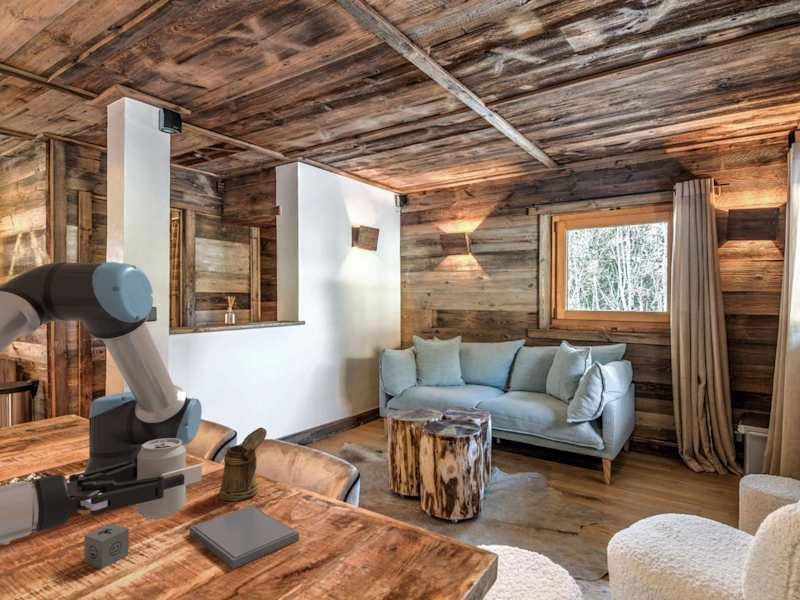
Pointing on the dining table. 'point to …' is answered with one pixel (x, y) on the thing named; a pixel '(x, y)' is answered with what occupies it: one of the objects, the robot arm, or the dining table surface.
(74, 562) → the dining table surface
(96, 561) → the dice cube
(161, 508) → the can
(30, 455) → the dining table surface
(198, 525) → the slate board
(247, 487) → the wooden mug
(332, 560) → the dining table surface
